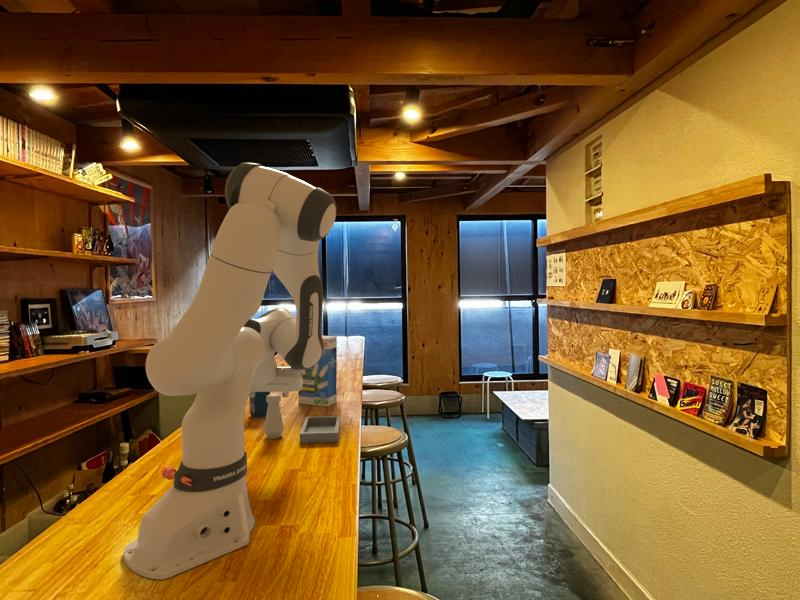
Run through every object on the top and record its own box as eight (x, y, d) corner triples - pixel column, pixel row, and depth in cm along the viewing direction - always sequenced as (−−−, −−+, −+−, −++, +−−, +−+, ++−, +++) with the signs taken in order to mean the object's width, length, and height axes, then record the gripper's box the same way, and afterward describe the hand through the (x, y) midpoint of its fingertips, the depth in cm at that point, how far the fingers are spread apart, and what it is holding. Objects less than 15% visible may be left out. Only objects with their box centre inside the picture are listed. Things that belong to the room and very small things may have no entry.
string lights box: (297, 404, 175) (296, 336, 174) (307, 398, 183) (306, 334, 181) (328, 407, 171) (328, 338, 170) (338, 401, 178) (337, 335, 177)
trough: (337, 442, 135) (337, 432, 135) (299, 443, 134) (299, 433, 134) (340, 424, 151) (340, 415, 151) (306, 425, 150) (306, 416, 150)
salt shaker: (278, 440, 137) (277, 397, 136) (260, 439, 138) (259, 396, 137) (287, 434, 142) (286, 392, 142) (270, 432, 143) (269, 391, 143)
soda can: (273, 412, 164) (272, 379, 164) (265, 418, 157) (265, 384, 157) (254, 412, 165) (254, 379, 164) (246, 418, 158) (245, 383, 157)
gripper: (301, 357, 122) (307, 385, 132) (223, 358, 121) (235, 385, 132) (298, 378, 118) (304, 405, 128) (217, 378, 117) (230, 405, 128)
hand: (269, 395), depth 130 cm, fingers open, 8 cm apart
